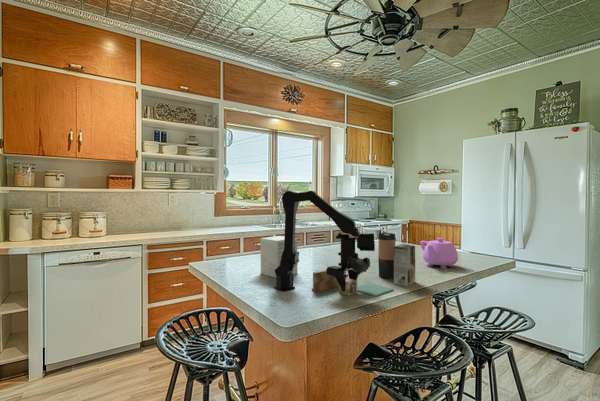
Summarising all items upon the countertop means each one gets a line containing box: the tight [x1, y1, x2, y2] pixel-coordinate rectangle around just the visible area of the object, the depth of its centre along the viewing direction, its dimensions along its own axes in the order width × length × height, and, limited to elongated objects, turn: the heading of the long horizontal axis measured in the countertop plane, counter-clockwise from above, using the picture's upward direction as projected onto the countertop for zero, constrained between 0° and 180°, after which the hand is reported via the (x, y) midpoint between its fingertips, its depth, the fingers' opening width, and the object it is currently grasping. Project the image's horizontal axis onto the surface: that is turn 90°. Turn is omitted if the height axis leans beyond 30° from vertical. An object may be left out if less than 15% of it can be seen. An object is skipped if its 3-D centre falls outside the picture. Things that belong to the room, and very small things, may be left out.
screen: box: [311, 268, 346, 293], centre depth 131 cm, size 18×4×8 cm, turn 131°
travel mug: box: [377, 232, 396, 280], centre depth 148 cm, size 8×8×20 cm
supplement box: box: [259, 235, 298, 279], centre depth 154 cm, size 13×13×18 cm
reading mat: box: [357, 282, 394, 298], centre depth 127 cm, size 12×12×1 cm
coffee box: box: [393, 243, 416, 287], centre depth 137 cm, size 9×6×16 cm
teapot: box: [419, 237, 459, 270], centre depth 170 cm, size 20×20×15 cm
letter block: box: [338, 277, 358, 296], centre depth 124 cm, size 5×5×5 cm
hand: (347, 290), depth 124 cm, fingers closed on letter block, 5 cm apart
